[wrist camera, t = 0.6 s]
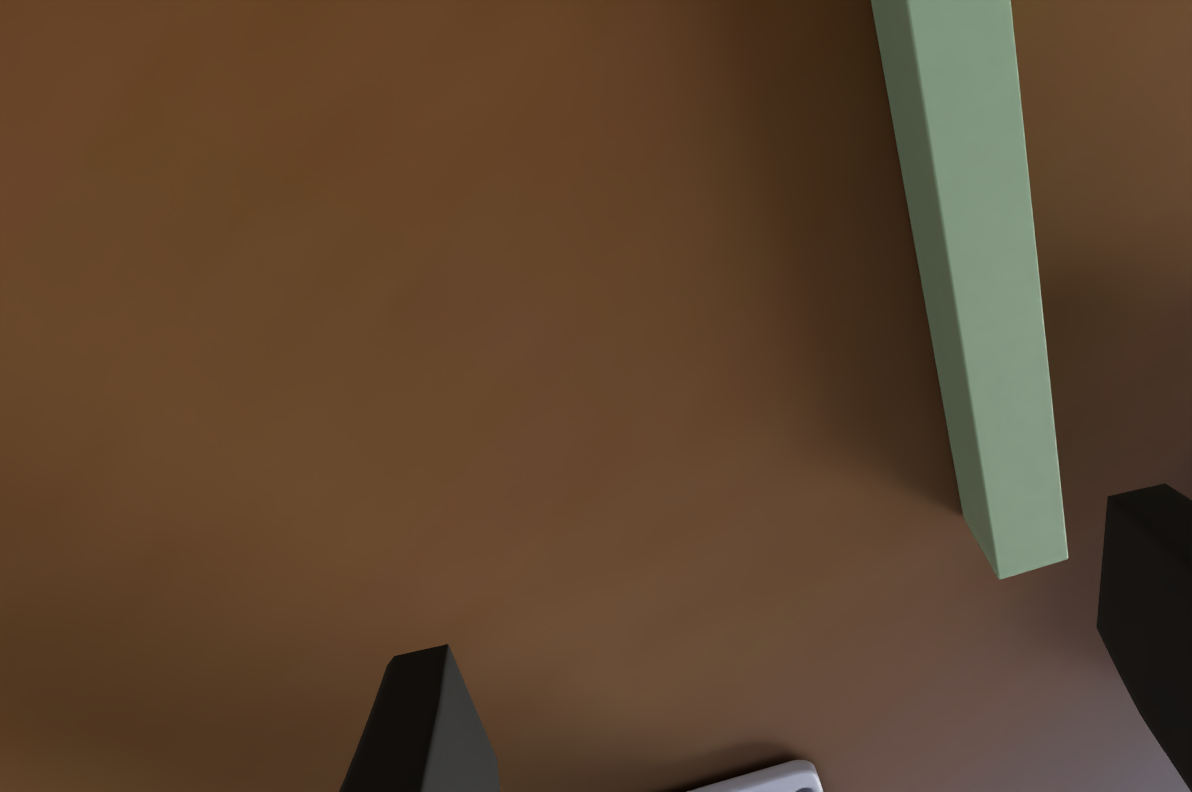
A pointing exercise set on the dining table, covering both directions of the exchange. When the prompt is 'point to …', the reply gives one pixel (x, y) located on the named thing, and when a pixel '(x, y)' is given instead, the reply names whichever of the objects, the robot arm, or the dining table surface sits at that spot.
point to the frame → (978, 265)
